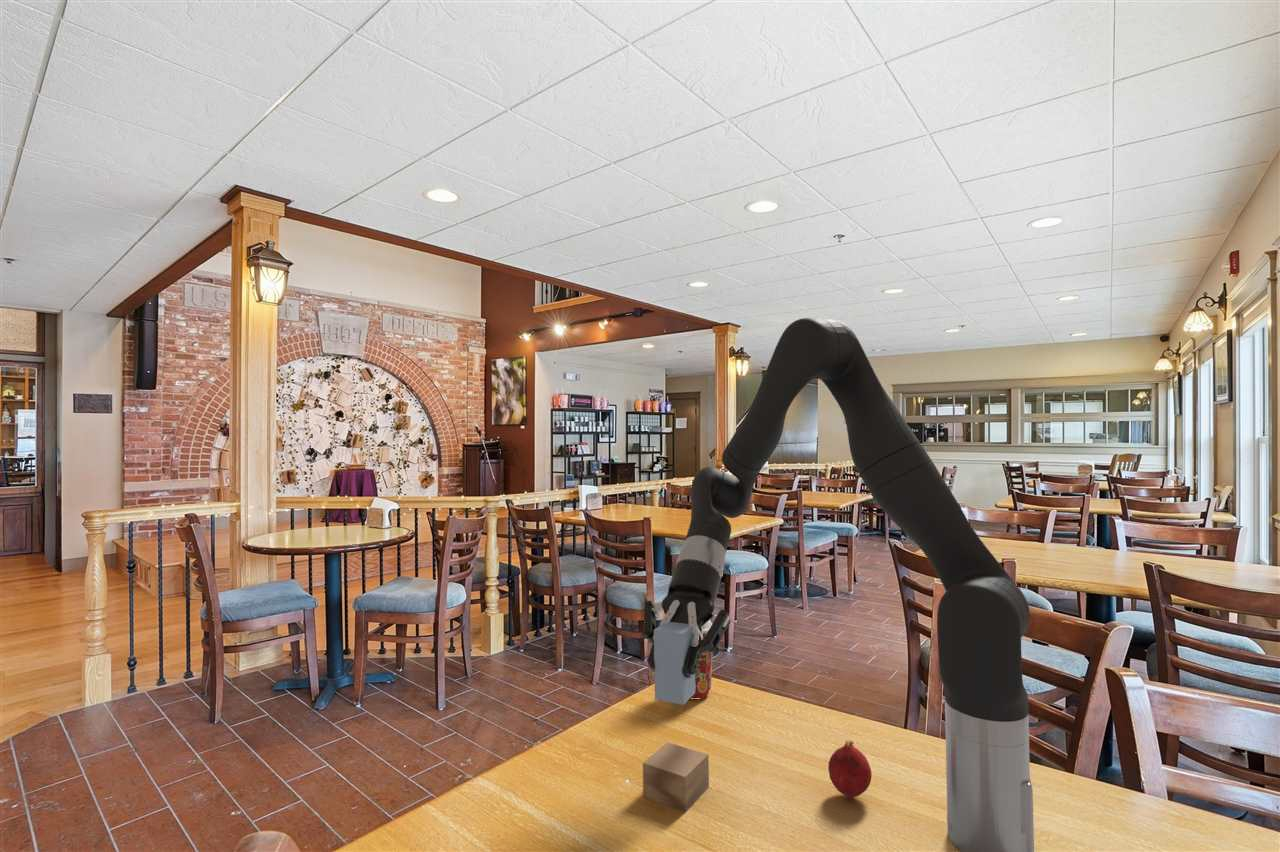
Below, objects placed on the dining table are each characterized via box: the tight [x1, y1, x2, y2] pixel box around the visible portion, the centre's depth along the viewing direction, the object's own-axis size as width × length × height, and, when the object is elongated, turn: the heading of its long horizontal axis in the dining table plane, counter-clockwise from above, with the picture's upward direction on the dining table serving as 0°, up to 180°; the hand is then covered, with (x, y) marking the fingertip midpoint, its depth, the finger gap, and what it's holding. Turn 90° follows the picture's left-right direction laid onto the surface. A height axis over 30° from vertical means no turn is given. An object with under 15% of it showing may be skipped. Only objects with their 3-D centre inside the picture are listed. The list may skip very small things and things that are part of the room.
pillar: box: [653, 622, 695, 706], centre depth 91 cm, size 4×4×10 cm
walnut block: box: [642, 742, 710, 813], centre depth 90 cm, size 7×7×5 cm
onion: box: [827, 739, 872, 799], centre depth 88 cm, size 6×6×8 cm
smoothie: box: [691, 619, 714, 699], centre depth 124 cm, size 8×8×20 cm
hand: (669, 672), depth 89 cm, fingers closed on pillar, 4 cm apart
